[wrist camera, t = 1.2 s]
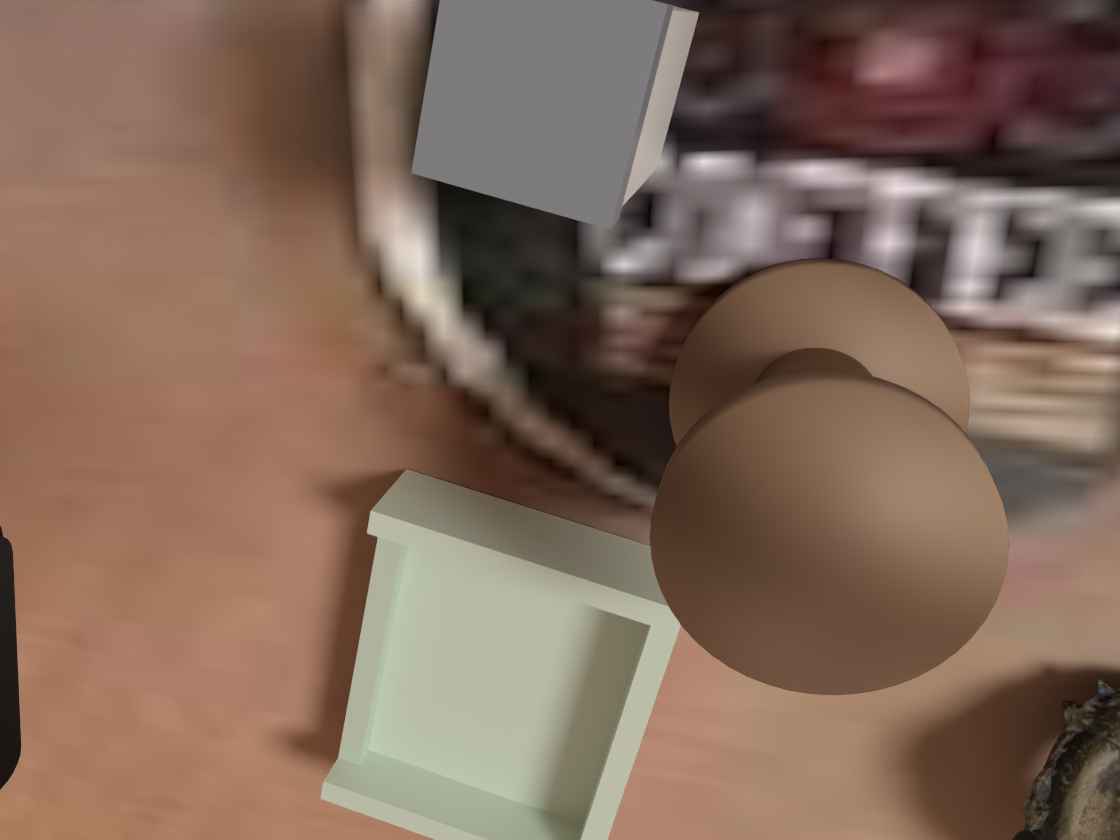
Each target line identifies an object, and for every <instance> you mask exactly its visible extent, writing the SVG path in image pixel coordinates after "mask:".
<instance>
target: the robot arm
mask: <svg viewBox="0 0 1120 840" xmlns="http://www.w3.org/2000/svg"><path fill="white" fill-rule="evenodd" d="M20 753H21V732H20V709H19V685H18V662H17V638H16V615H15V592H14V568H13V551H12V546H11V543H10V542H9V540H8V539H6V538H4V537H3V534H2V529H1V527H0V789H1V788H2V787H3V786H4V785H5V783H6V782H7V781H8V780H9V778H10V777H11V775H12V774H13V772H14V770H15V768H16V765H17V763H18V760H19V757H20ZM1013 840H1058V839H1055V838H1051V837H1048V836H1045V835H1041V834H1038V833H1035V832H1031V831H1021V832H1019V833H1018V834H1017V835H1015V837H1014V838H1013Z"/></svg>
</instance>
